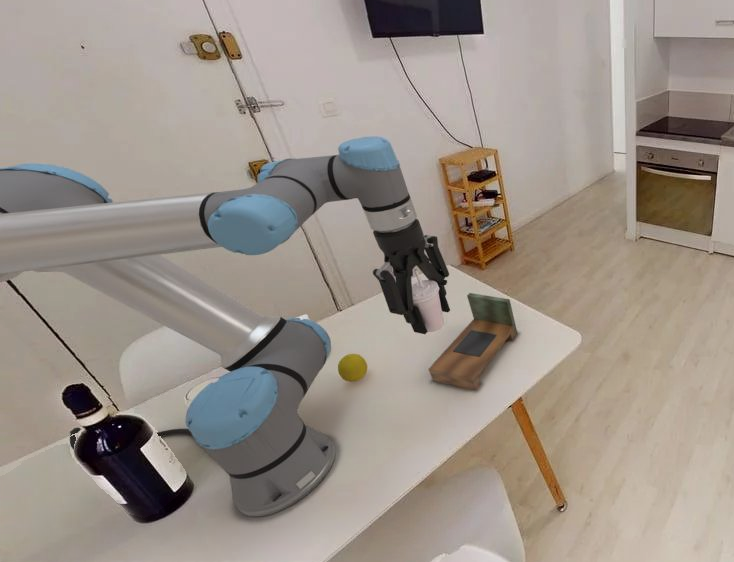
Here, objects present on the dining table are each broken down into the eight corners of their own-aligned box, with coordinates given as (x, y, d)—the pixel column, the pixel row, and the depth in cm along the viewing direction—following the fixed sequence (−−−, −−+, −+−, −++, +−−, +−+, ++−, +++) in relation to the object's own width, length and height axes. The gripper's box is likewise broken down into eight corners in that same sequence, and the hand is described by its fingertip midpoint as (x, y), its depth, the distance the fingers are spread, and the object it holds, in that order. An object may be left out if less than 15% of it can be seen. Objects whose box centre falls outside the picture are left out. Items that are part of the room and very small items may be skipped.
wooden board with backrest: (432, 380, 98) (418, 344, 92) (479, 326, 114) (469, 292, 108) (476, 390, 95) (463, 353, 89) (517, 333, 111) (509, 299, 105)
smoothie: (456, 316, 88) (438, 262, 81) (440, 337, 83) (419, 282, 76) (429, 314, 89) (408, 261, 82) (411, 335, 83) (387, 280, 76)
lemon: (359, 390, 96) (346, 366, 92) (340, 387, 97) (326, 363, 93) (377, 372, 101) (365, 348, 97) (358, 369, 102) (346, 345, 98)
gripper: (367, 254, 65) (413, 358, 76) (448, 203, 81) (476, 295, 92) (331, 248, 67) (381, 350, 78) (417, 200, 83) (448, 290, 94)
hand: (432, 320), depth 85 cm, fingers closed on smoothie, 6 cm apart
